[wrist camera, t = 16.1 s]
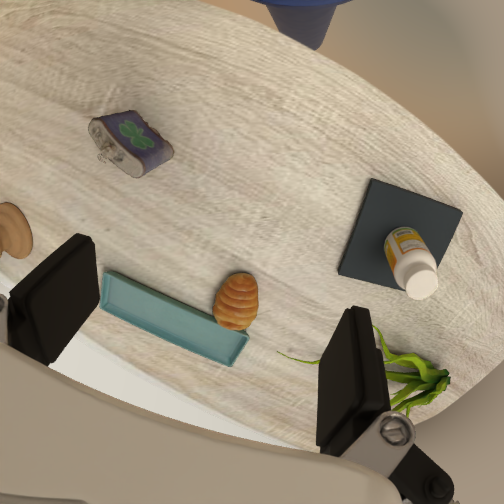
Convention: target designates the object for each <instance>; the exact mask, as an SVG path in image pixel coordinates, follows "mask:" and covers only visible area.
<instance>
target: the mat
mask: <svg viewBox="0 0 504 504" xmlns="http://www.w3.org/2000/svg"><path fill="white" fill-rule="evenodd" d="M462 214H463V212H462V211H461V210H459V209H457V208H454V207H452V206H449V205H447V204H444V203H441V202H439V201H436V200H433V199H431V198H428V197H425V196H423V195H420V194H417V193H414V192H411V191H409V190H406V189H403V188H400V187H397V186H394V185H391V184H388V183H385V182H382V181H379V180H376V179H373V178H371V181H370V184H369V187H368V190H367V193H366V196H365V199H364V202H363V204H362V207H361V210H360V213H359V216H358V219H357V221H356V224H355V227H354V230H353V233H352V235H351V238H350V241H349V243H348V246H347V249H346V251H345V254H344V256H343V259H342V262H341V264H340V267H339V269H338V275H342V276H346V277H350V278H354V279H358V280H362V281H366V282H370V283H374V284H378V285H382V286H386V287H390V288H394V289H398V290H402V291H406V290H405V289H403V288H401V287H400V286H399V285H398V284H397V282H396V280H395V278H394V275H393V272H392V270H391V267H390V264H389V262H388V259H387V257H386V254H385V251H384V244H385V240H386V238H387V236H388V235H389V234H390V233H391V232H392V231H393V230H395V229H397V228H400V227H410V228H412V229H414V230H415V231H416V232H417V233H418V234H419V235H420V237H421V238H422V240H423V241H424V243H425V245H426V246H427V248H428V249H429V251H430V253H431V254H432V256H433V257H434V259H435V262H436V266H437V268H438V266H439V264H440V262H441V260H442V258H443V256H444V254H445V252H446V250H447V248H448V246H449V244H450V241H451V239H452V237H453V235H454V233H455V230H456V228H457V226H458V224H459V221H460V219H461V217H462Z"/></svg>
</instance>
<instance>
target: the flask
mask: <svg viewBox="0 0 504 504" xmlns="http://www.w3.org/2000/svg"><path fill="white" fill-rule="evenodd" d="M88 131H89V134H90V136H91V137H92V138H93V140H94V141H95V143H96V145H97V146H98V147H99V149H100V150H101V151H100V152H101V155H102V156H103V158H105V159H107V158H108V159H109V160H110V161H112V162H113V163H114V164H115V165H116V166H117V167H119V168H120V169H121V170H123V171H124V172H125V173H126V174H128V175H130V176H131V177H133V178H140V177H141V176H143V175H145V174H146V173H148V172H149V171H151V170H153V169H154V168H156V167H158V166H159V165H161V164H163V163H164V162H166V161H168V160H170V159H171V158H172V157H173V154H174V150H173V148H172V146H171V144H170V143H169V142H168V141H165V140H164V139H163V138H162V137H161V136H160V134H159V133H158V132H157V130H155V129H154V128H152V127H149V125H148V123H147V122H145V121H144V120H143V118H142V117H141V116H140V115H139V113H138V112H137V111H135V110H129V111H126V112H121V113H115V114H112V115H106V116H101V117H97V118H93V119H92V120H91V122H90V124H89V127H88ZM97 157H98V159H99V161H102V157H101V156H100V154H98V155H97ZM104 163H106V162H105V161H104Z"/></svg>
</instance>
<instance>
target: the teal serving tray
mask: <svg viewBox="0 0 504 504" xmlns="http://www.w3.org/2000/svg"><path fill="white" fill-rule="evenodd" d="M100 308H101V309H102V310H104V311H106V312H108V313H110V314H112V315H114V316H116V317H118V318H120V319H122V320H124V321H126V322H128V323H130V324H132V325H134V326H136V327H138V328H140V329H142V330H144V331H147V332H149V333H151V334H153V335H155V336H157V337H159V338H162V339H164V340H166V341H168V342H170V343H173V344H175V345H177V346H179V347H182V348H184V349H186V350H188V351H191V352H193V353H195V354H198V355H200V356H203V357H205V358H207V359H210V360H212V361H215V362H217V363H220V364H222V365H225V366H228V367H232V366H233V364H234V363H235V361H236V359H237V358H238V356H239V354H240V353H241V351H242V350H243V348H244V347H245V345H246V344H247V342H248V341H249V335H248V334H247V333H246V332H245V330H229V329H226V328H223V327H221V326H220V325H219V324H218V323H217V320H216V319H215V317H212V316H210V315H208V314H206V313H203V312H201V311H199V310H196V309H194V308H192V307H190V306H187V305H185V304H183V303H181V302H178V301H176V300H174V299H172V298H169V297H167V296H165V295H163V294H161V293H159V292H156V291H154V290H152V289H150V288H148V287H145V286H143V285H141V284H139V283H137V282H135V281H133V280H131V279H129V278H126V277H124V276H122V275H120V274H118V273H116V272H113V271H108V272H104V273H103V278H102V288H101V297H100Z"/></svg>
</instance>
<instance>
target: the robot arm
mask: <svg viewBox="0 0 504 504" xmlns="http://www.w3.org/2000/svg"><path fill="white" fill-rule="evenodd" d="M9 293H10V298H9V299H8V300H7V298H6V297H5V296H4V295H3V294H0V504H460V503H459V501H456V502H454V500H453V499H452V498H453V495H454V484H453V482H452V479H451V478H450V476H449V475H448V474H447V473H446V472H445V471H443V469H441V468H440V467H439V466H438V465H437V464H436V463H435V462H434V461H433V460H431V459H430V458H429V457H428V456H427V455H426V454H425V453H424V452H423V451H421V449H419V448H418V447H417V446H416V445H415V444H414V441H415V438H416V431H415V427H414V425H413V423H412V421H411V420H410V419H409V418H408V417H407V416H405V415H404V414H402V413H400V412H397V411H391V405H390V398H389V391H388V385H387V379H386V373H385V367H384V361H383V355H382V352H381V350H380V349H378V348H376V344H375V338H374V333H373V327H372V322H371V317H370V312H369V309H367V308H363V307H358V306H352V307H351V309H348V308H346V309H345V311H344V313H343V315H342V317H341V319H340V321H339V323H338V326H337V328H336V330H335V332H334V334H333V336H332V338H331V340H330V342H329V344H328V346H327V347H326V349H325V351H324V353H323V355H322V357H321V359H320V363H319V372H318V408H317V430H316V445H317V446H320V453H314V452H309V451H304V450H298V449H292V448H287V447H282V446H276V445H271V444H267V443H262V442H258V441H253V440H248V439H244V438H239V437H235V436H231V435H227V434H223V433H219V432H215V431H212V430H208V429H204V428H201V427H198V426H194V425H191V424H188V423H184V422H181V421H178V420H175V419H172V418H169V417H165V416H162V415H159V414H156V413H154V412H151V411H148V410H145V409H143V408H140V407H137V406H134V405H132V404H129V403H127V402H124V401H121V400H119V399H117V398H114V397H112V396H109V395H107V394H105V393H102V392H100V391H97V390H95V389H93V388H90V387H88V386H86V385H84V384H82V383H80V382H77V381H75V380H73V379H71V378H69V377H67V376H65V375H63V374H61V373H59V372H57V371H55V370H53V369H51V368H49V367H48V365H49V364H50V363H54V362H55V361H56V359H57V358H58V357H59V355H60V354H61V352H62V351H63V350H64V348H65V347H66V346H67V344H68V343H69V342H70V340H71V339H72V338H73V336H74V335H75V334H76V332H77V331H78V330H79V328H80V327H81V326H82V325H83V323H84V322H85V321H86V319H87V318H88V317H89V316H90V314H91V313H92V312H93V311H94V309H95V308H96V307H97V305H98V303H99V300H100V293H99V285H98V275H97V265H96V253H95V244H94V242H93V241H92V239H91V237H89V236H86V235H83V234H79V233H76V234H75V235H73V236H72V237H71V238H70V239H69V240H67V241H66V242H65V243H64V244H63V245H61V246H60V247H59V248H58V249H57V250H55V251H54V252H53V253H52V254H51V255H50V256H48V257H47V258H46V259H45V260H44V261H43V262H41V263H40V264H39V265H38V266H37V267H36V268H35V269H34V270H32V271H31V272H30V273H29V274H28V275H27V276H26V277H25V278H24V279H23V280H22V281H20V282H19V283H18V284H17V285H16V286H15V287H14V288H13V289H12V290H11V291H10V292H9Z"/></svg>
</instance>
